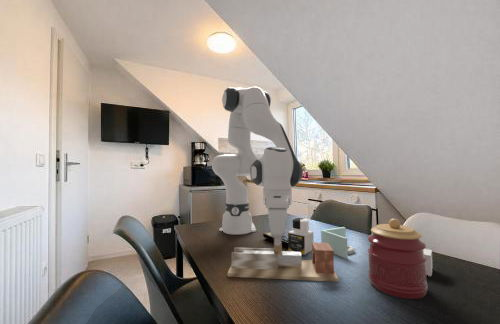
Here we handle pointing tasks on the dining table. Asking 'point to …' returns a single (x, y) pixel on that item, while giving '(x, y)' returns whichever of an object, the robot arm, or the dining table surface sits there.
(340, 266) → the dining table surface
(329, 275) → the stand
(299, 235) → the medicine bottle
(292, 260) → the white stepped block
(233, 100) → the robot arm
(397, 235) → the canister
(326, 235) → the right angle wall
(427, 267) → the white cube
